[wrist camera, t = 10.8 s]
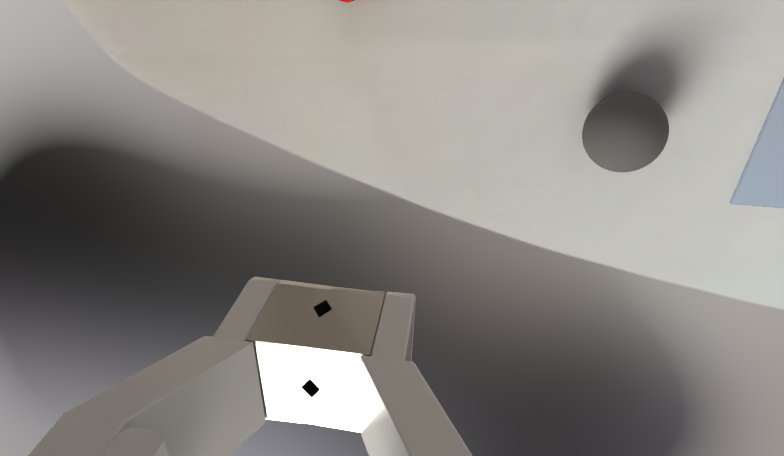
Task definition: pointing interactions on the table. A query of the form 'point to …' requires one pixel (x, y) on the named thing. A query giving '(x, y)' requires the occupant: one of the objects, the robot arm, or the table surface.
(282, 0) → the table surface
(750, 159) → the board
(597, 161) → the grey sphere
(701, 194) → the table surface
